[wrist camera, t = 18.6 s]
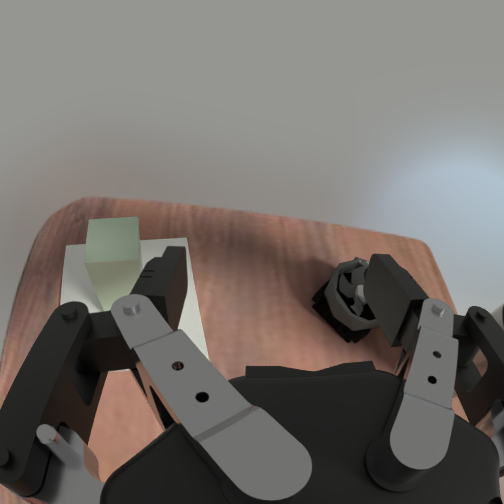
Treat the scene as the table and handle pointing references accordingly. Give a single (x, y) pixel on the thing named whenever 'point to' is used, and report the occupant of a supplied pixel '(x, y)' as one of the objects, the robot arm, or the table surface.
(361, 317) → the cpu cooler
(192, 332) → the white mat
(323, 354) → the table surface
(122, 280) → the sage block
